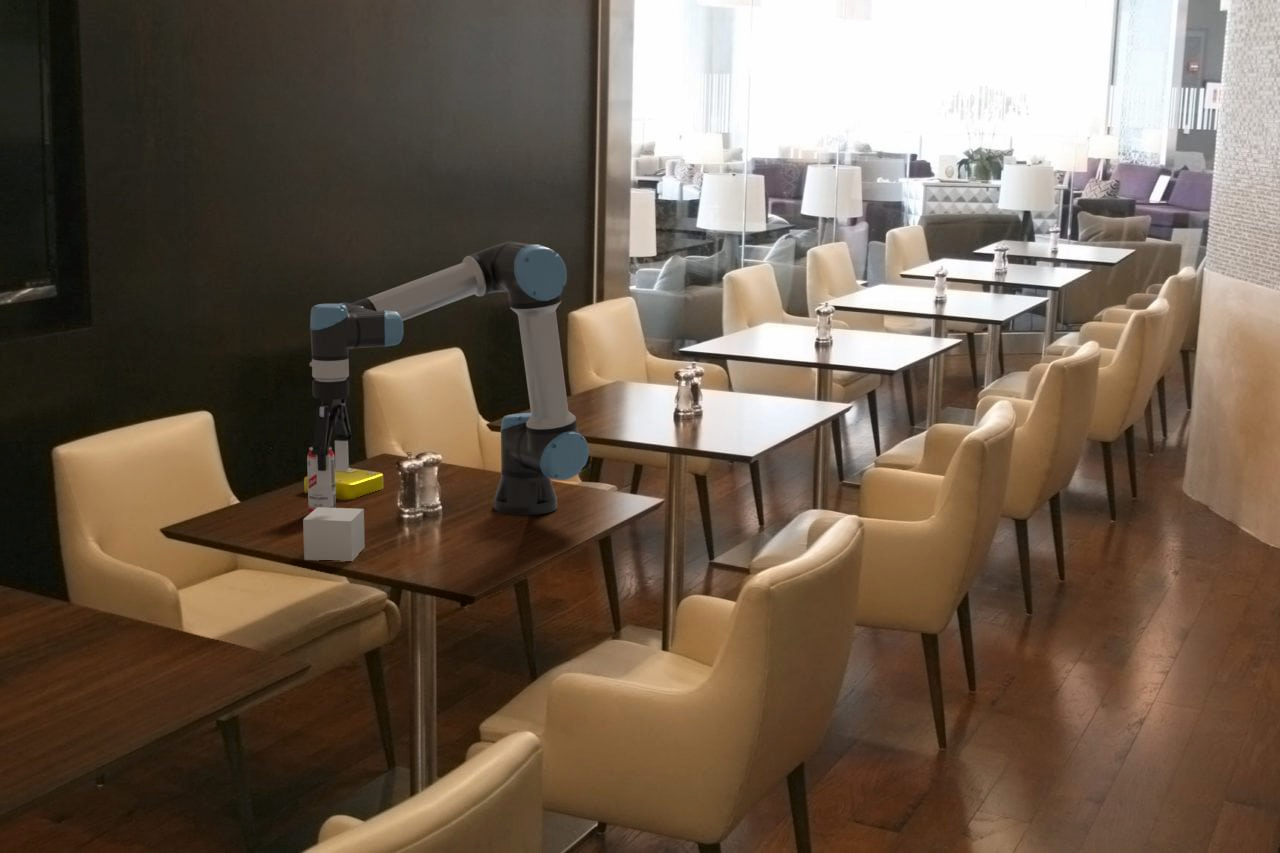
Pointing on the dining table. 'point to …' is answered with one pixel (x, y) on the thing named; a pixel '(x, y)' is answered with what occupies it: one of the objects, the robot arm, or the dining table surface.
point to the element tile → (354, 483)
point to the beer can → (320, 494)
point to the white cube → (333, 534)
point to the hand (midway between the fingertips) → (333, 477)
